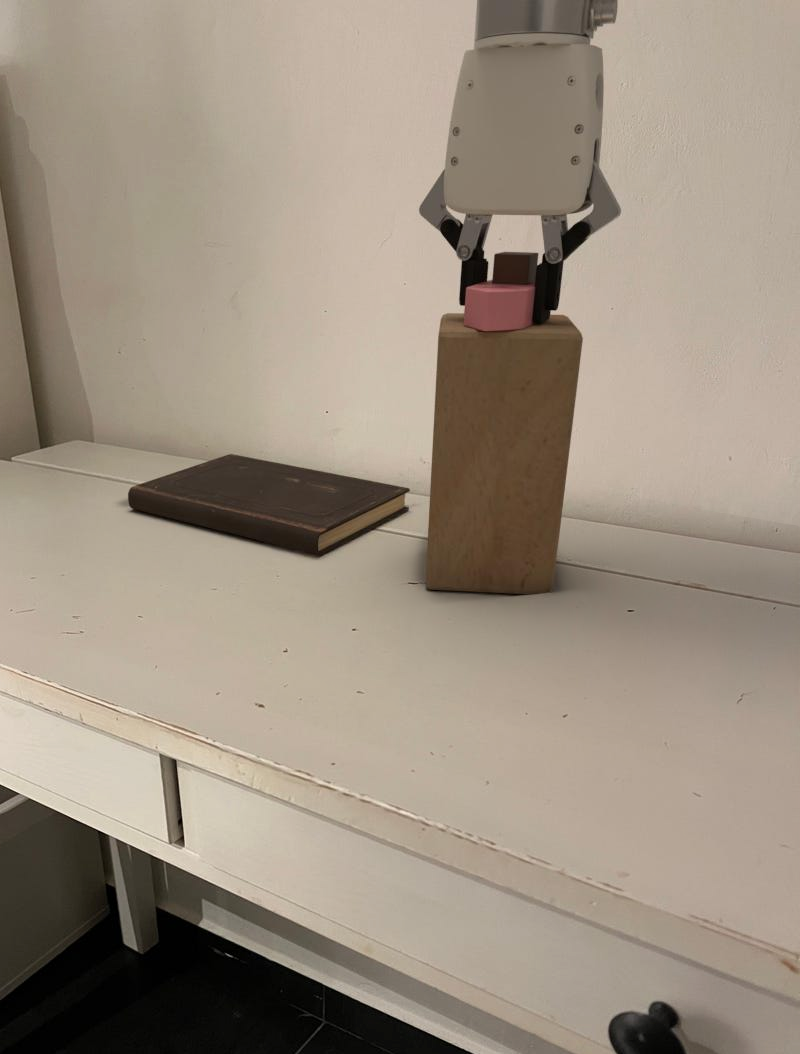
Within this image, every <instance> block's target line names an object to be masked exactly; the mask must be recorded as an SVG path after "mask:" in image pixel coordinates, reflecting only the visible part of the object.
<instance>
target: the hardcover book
mask: <svg viewBox="0 0 800 1054" xmlns="http://www.w3.org/2000/svg"><path fill="white" fill-rule="evenodd" d="M410 491H411V490H410V488H409V487H405V486H399V485H394V484H389V483H384V482H378V481H373V480H368V479H365V478H358V477H353V476H348V475H344V474H343V475H342V474H338V473H333V472H327V471H322V470H317V469H312V468H306V467H300V466H295V465H291V464H285V463H280V462H275V461H271V460H264V459H259V458H254V457H249V456H244V455H239V454H234V453H229V454H226V455H223V456H219V457H217V458H213V459H211V460H208V461H205V462H201V463H199V464H196V465H193V466H190V467H187V468H184V469H181V470H178V471H175V472H172V473H169V474H166V475H163V476H159V477H157V478H154V479H151V480H148V481H145V482H142V483H139V484H136V485H133V486H131V487H130V488H129V490H128V493H127V500H128V506H129V507H130V509H132V510H134V511H135V510H136V511H139V512H144V513H148V514H151V515H156V516H159V517H162V518H168V519H172V520H175V521H179V522H183V523H188V524H192V525H195V526H200V527H204V528H207V529H211V530H214V531H219V532H223V533H226V534H227V533H228V534H232V535H236V536H239V537H243V538H247V539H251V540H256V541H260V542H264V543H267V544H271V545H275V546H280V547H284V548H286V549H287V548H288V549H292V550H295V551H298V552H303V553H307V554H311V555H316V556H319V557H321V556H323V555H326V554H327V553H329V552H331V551H333V550H335V549H336V548H339V547H341V546H342V545H345V544H347V543H348V542H350V541H353V540H354V539H357V538H358V537H360V536H362V535H363V534H365V533H367V532H369V531H371V530H374V529H375V528H377V527H379V526H381V525H382V524H384V523H387V522H388V521H390V520H393V519H394V518H396V517H398V516H400V515H402V514H405V513H406V512H407V511H410V507H409V506H405V505H406V502H405V501H406V500H405V499H406V494H408V493H409V492H410Z"/></svg>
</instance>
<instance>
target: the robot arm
mask: <svg viewBox="0 0 800 1054" xmlns="http://www.w3.org/2000/svg"><path fill="white" fill-rule="evenodd" d="M618 2H619V1H618V0H476V11H475V25H474V26H475V27H474V39H473V40H474V42H473V43H474V44H473V49H468V50H465V51H464V54H463V57H462V61H461V66H460V69H459V74H458V77H457V83H456V88H455V93H454V98H453V104H452V110H451V114H450V115H451V116H450V120H449V121H450V122H449V129H448V137H447V144H446V152H445V153H446V154H445V161H444V162H445V163H444V164H445V165H444V169H443V170H442V171H441V173H440V174H439V176H438V178H437V180H436V181H435V182H434V184H433V186H431V188H430V190H429V192H428V193H427V195H426V196H425V198H424V199H423V201H422V202H421V203H420V205H419V208H418V212H419V215H420V216H421V217H422V218H423V219H424V220H426V221H427V222H428V223H429V224H430V225H431V226H432V227H434V229H436V230H437V231H439V232H440V234H441V235H442V237H443V238H444V239H445V240H446V242H447V243H448V244H449V245H450V247H451V248H452V249H453V250H454V251H455V253H456V257H457V258H458V260H460V261H461V266H460V267H461V268H460V280H459V281H460V282H459V295H458V296H459V297H458V303H459V306H461V307H465V297H466V288H467V287H469V286H473V285H476V284H479V283H482V282H486V281H488V276H489V275H488V274H489V261H488V258H485V250H484V246H485V244H486V241H487V237H488V234H489V229H490V226H491V222H492V219H493V216H540V220H541V230H542V231H541V232H542V240H543V248H544V253H543V254H542V257H541V262H540V263H538V264H537V268H536V277H535V297H534V307H533V317H532V321H534V323H543V322H545V321H547V320H549V318H550V315H551V312H552V311H554V312H556V311H558V309H559V304H560V299H561V298H560V297H561V288H562V280H563V279H562V278H563V271H564V263H565V261H567V259H568V258H569V257H570V256H571V255H572V254H573V253H574V252H576V250H577V249H578V248H580V247H581V246H582V245H583V244H584V243H585V242H586V241H587V240H588V239H589V238H590V237H592V236H593V235H594V234H596V233H598V232H599V231H601V230H602V229H603V228H605V227H608V225H610V224H611V223H613V222H614V221H616V220H617V219H619V217H620V216H621V214H622V208H621V206H620V204H619V202H618V200H617V198H616V196H615V195H614V194H615V193H614V192H613V191H612V188H611V187H610V185H609V183H608V181H607V179H606V177H605V175H604V172H603V171H602V170H601V167H600V164H601V163H600V162H601V149H602V138H603V137H602V135H603V120H604V94H605V93H604V92H605V91H604V89H605V88H604V86H605V85H604V84H605V83H604V82H605V81H604V78H605V77H604V57H603V56H604V55H603V48H602V47H599V46H597V45H593V44H591V40H593V39H594V36H595V35H594V34H595V32H597V30H598V28H601V27H602V28H603V26H604V25H611V24H613V25H614V24H615V23H616V21H617V17H618V16H617V15H618V6H619V5H618V4H619V3H618ZM592 205H593V208H592V211H591V212H590V213H589V214H587V215H586V216H585V217H583V218H581V219H580V220H579V221H577V222H575V223H574V224H573V225H572V226H571V227H570V228H569V225H568V215H572V214H578V213H581V212H584V211H585V210H588V209H589V208H591V207H592ZM447 207H448V208H449V209H450V210H452V211H454V212H455V213H458V214H464V215H465V216H464V220H463V222H462V221H461V220H460V219H459V218H456V217H455V216H454V215H453V214H452V213H451V212H450V211H449V210H448V208H447ZM463 310H464V312H465V309H463ZM464 312H463V313H464Z"/></svg>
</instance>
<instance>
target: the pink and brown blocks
mask: <svg viewBox="0 0 800 1054" xmlns="http://www.w3.org/2000/svg"><path fill="white" fill-rule="evenodd" d="M538 262H539V252H525V251H502V252H497V253H494V255H493V268H492V279H489V280H487V281H486V282H482V283H479V284H476V285H473V286H469V287H467V288H466V297H465V306H464V310H465V312H463V313H464V326H467V327H471V328H475V329H479V330H482V331H500V330H519V329H525V328H526V327H528V326H530V325H532V324H534V321H532V317H533V307H534V297H535V277H536V268H537V265H538V264H539V263H538Z"/></svg>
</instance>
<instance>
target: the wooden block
mask: <svg viewBox="0 0 800 1054" xmlns="http://www.w3.org/2000/svg"><path fill="white" fill-rule="evenodd" d="M583 341H584V338H583V334H582V332H581V331H580V329H578V327H577V326H576V325H575V324H574V323H573V321H572V320H571V319H570V318H569V316H567V315H564V314H550V318H549V320H547V321H545V322H543V323H534V324H532V325H530V326H528V327H526V328H525V329H519V330H500V331H482V330H479V329H475V328H471V327H467V326H464V312H463V313H462V312H461V313H459V312H458V313H456V312H447V313H445V314H442V316H441V318H440V323H439V330H438V335H437V353H436V355H437V356H436V373H435V392H434V395H435V396H434V411H433V428H432V429H433V431H432V449H431V451H432V452H431V469H430V485H429V486H430V489H429V508H428V525H427V526H428V528H427V547H426V565H425V566H426V567H425V581H424V582H425V585H426V588H427V589H429V590H435V591H436V590H437V591H454V592H455V591H457V592H473V593H475V592H476V593H477V592H478V593H496V594H515V595H516V594H517V595H541V594H551V593H552V592H553V591H554V583H555V575H556V566H557V557H558V550H559V540H560V533H561V523H562V517H563V508H564V501H565V491H566V482H567V475H568V467H569V458H570V449H571V441H572V433H573V426H574V425H573V424H574V417H575V409H576V399H577V392H578V382H579V375H580V374H579V373H580V365H581V357H582V348H583V343H584V342H583Z"/></svg>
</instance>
